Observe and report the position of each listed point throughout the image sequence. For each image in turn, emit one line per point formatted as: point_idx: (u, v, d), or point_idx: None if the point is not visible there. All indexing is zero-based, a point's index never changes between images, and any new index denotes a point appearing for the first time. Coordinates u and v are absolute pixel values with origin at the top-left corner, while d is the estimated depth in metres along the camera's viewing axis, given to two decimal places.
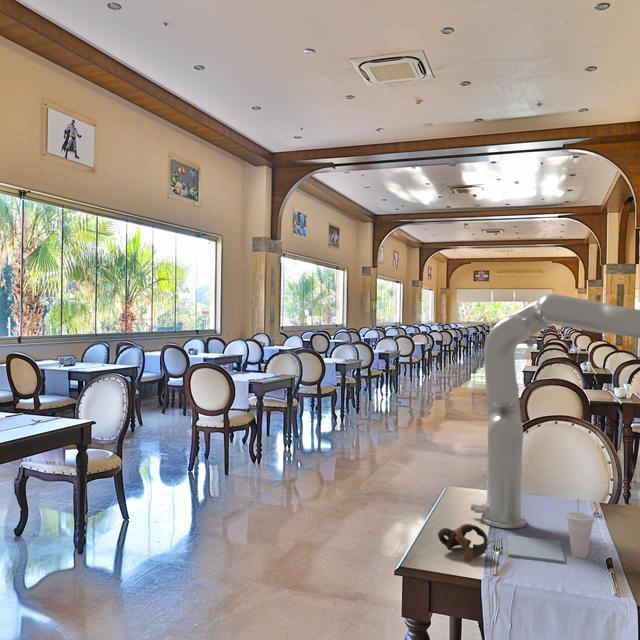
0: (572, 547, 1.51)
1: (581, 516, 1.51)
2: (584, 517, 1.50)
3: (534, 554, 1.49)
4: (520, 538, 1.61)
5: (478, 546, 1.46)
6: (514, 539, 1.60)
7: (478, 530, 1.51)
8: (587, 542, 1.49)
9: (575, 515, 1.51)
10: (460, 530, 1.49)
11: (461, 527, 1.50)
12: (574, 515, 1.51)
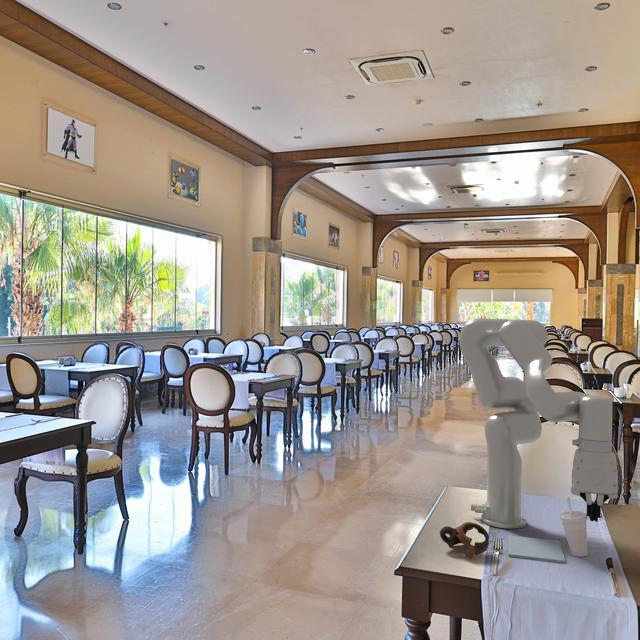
0: (571, 547, 1.51)
1: (574, 515, 1.51)
2: (577, 515, 1.51)
3: (534, 554, 1.49)
4: (520, 538, 1.61)
5: (480, 544, 1.47)
6: (514, 539, 1.60)
7: (479, 528, 1.52)
8: (584, 540, 1.50)
9: (568, 514, 1.52)
10: (462, 528, 1.50)
11: (463, 525, 1.51)
12: (567, 515, 1.52)
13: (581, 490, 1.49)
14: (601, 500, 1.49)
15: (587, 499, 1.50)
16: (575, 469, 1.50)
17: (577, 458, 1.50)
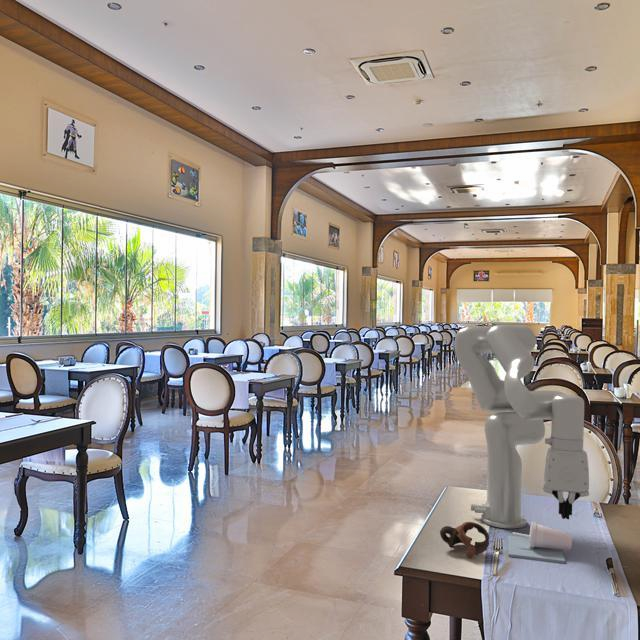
0: (562, 548, 1.51)
1: (530, 534, 1.54)
2: (530, 532, 1.54)
3: (534, 554, 1.49)
4: (520, 538, 1.61)
5: (480, 543, 1.47)
6: (514, 539, 1.60)
7: (479, 528, 1.52)
8: (555, 535, 1.51)
9: (529, 538, 1.55)
10: (462, 528, 1.51)
11: (463, 525, 1.51)
12: (529, 539, 1.55)
13: (553, 488, 1.51)
14: (572, 498, 1.51)
15: (559, 497, 1.52)
16: (547, 467, 1.52)
17: (549, 456, 1.52)
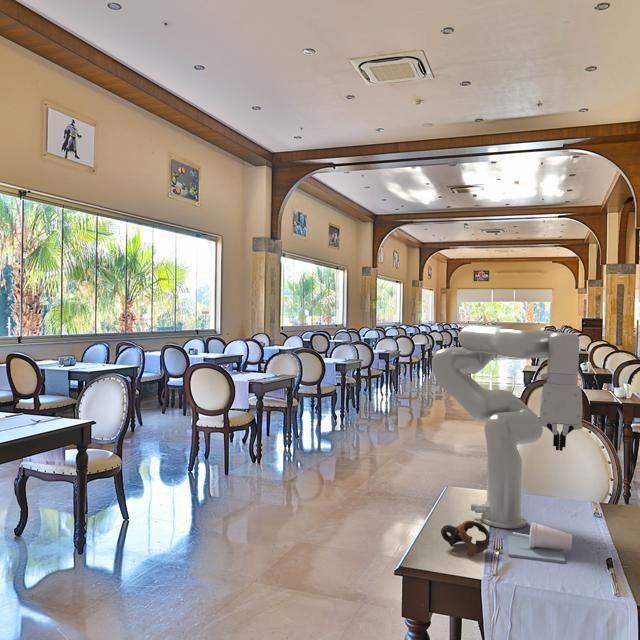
0: (562, 548, 1.51)
1: (530, 534, 1.54)
2: (530, 532, 1.54)
3: (534, 554, 1.49)
4: (520, 538, 1.61)
5: (481, 542, 1.48)
6: (514, 539, 1.60)
7: (480, 526, 1.53)
8: (555, 535, 1.51)
9: (529, 538, 1.55)
10: (463, 527, 1.51)
11: (464, 524, 1.52)
12: (529, 539, 1.55)
13: (547, 420, 1.58)
14: (566, 430, 1.57)
15: (553, 429, 1.58)
16: (542, 401, 1.58)
17: (544, 391, 1.58)
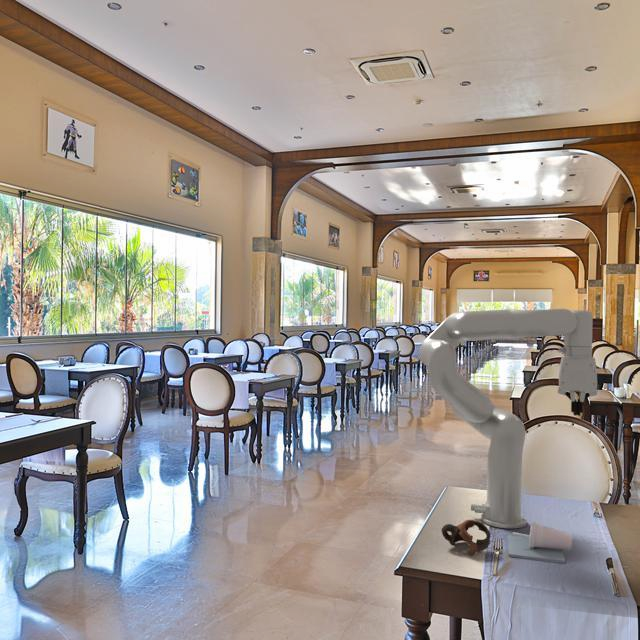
0: (562, 548, 1.51)
1: (530, 534, 1.54)
2: (530, 532, 1.54)
3: (534, 554, 1.49)
4: (520, 538, 1.61)
5: (482, 541, 1.49)
6: (514, 539, 1.60)
7: (480, 525, 1.54)
8: (555, 535, 1.51)
9: (529, 538, 1.55)
10: (464, 526, 1.52)
11: (464, 523, 1.53)
12: (529, 539, 1.55)
13: (566, 389, 1.76)
14: (583, 397, 1.76)
15: (571, 397, 1.77)
16: (561, 371, 1.77)
17: (563, 362, 1.77)
